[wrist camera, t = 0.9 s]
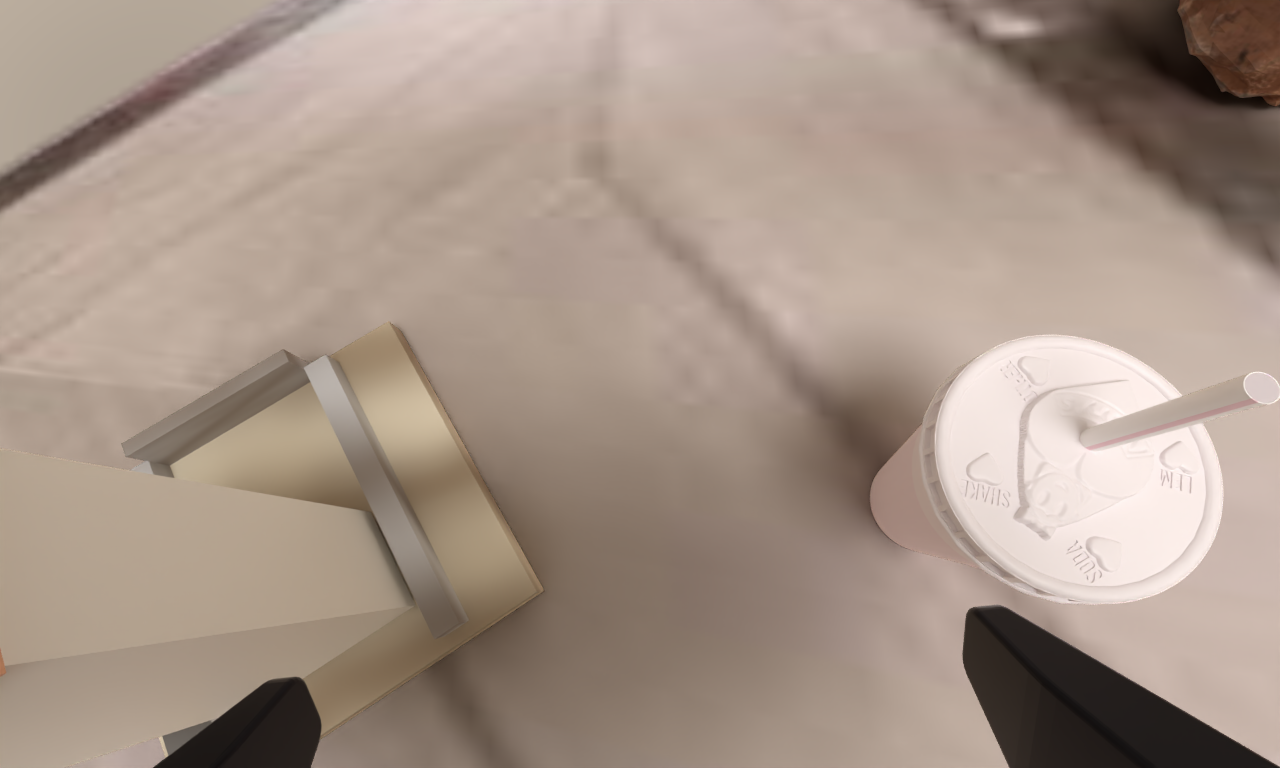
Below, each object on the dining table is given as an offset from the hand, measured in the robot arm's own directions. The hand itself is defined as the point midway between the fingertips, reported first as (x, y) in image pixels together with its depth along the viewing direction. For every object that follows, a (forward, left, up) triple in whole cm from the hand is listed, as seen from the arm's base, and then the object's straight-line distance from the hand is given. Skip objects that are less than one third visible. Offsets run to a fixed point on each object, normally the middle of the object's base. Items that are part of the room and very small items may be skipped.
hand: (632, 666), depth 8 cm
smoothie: (+2, -10, -15) cm, 19 cm away
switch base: (+4, +14, -15) cm, 21 cm away
